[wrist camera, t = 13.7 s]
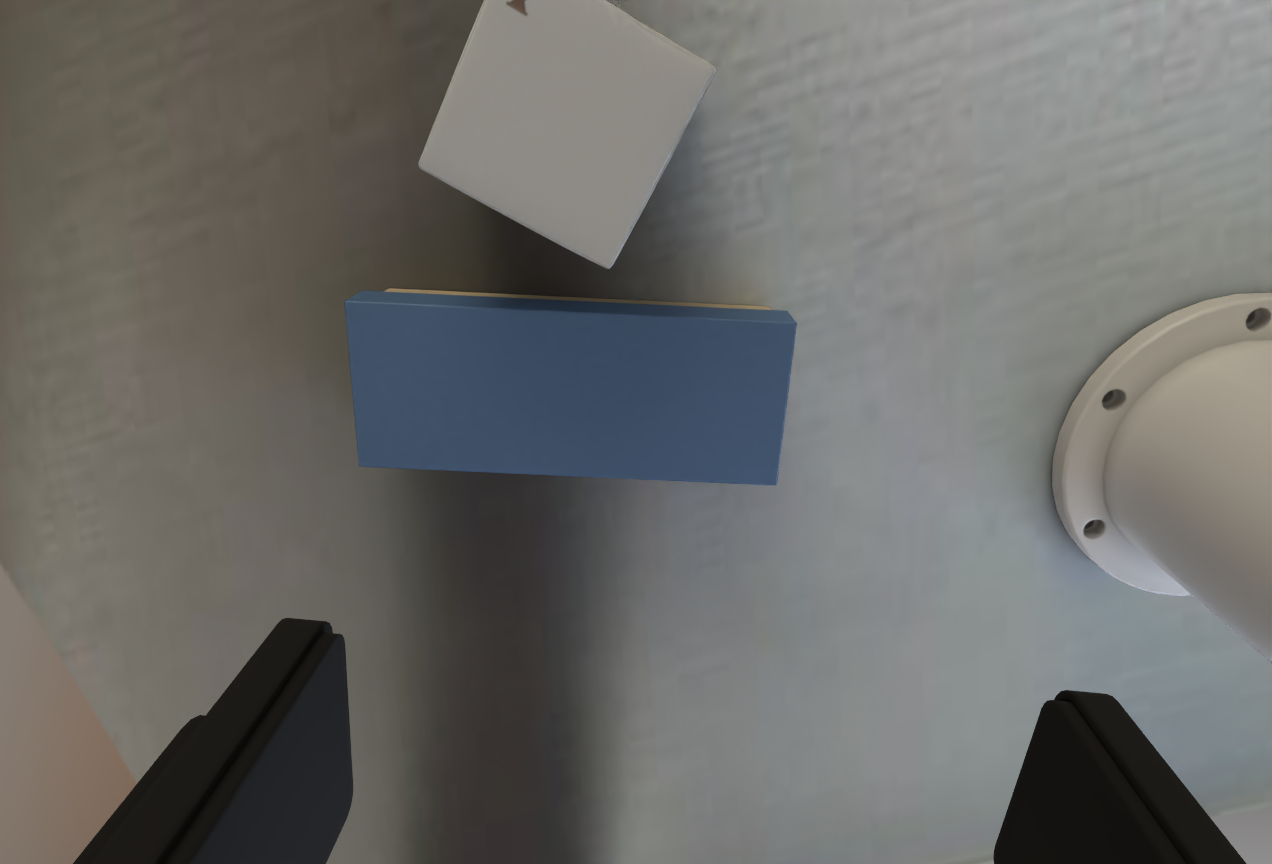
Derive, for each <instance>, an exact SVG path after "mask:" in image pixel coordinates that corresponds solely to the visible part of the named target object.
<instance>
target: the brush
mask: <svg viewBox="0 0 1272 864" xmlns="http://www.w3.org/2000/svg"><path fill="white" fill-rule="evenodd" d="M344 303H345V314H346V325H347V336H348V348H349V359H350V370H351V382H352V393H353V404H354V416H355V427H356V438H357V449H358V461H359V466H360V467H381V468H403V469H425V470H447V471H469V472H491V473H513V474H535V475H556V476H578V477H600V478H622V479H644V480H666V481H688V482H710V483H731V484H753V485H777V480H778V471H779V463H780V455H781V447H782V439H783V431H784V423H785V415H786V407H787V398H788V390H789V382H790V374H791V366H792V358H793V350H794V342H795V334H796V325H797V323H796V322H795V320H794V319H793V318H792V316H791V315H790V314H789V313H788V311H779V310H771V308H770V307H767V306H747V305H726V304H705V303H684V302H663V301H642V300H622V299H601V298H580V297H559V296H538V295H517V294H497V293H476V292H455V291H434V290H413V289H393V288H389V289H387V290H385V291H384V292H383V291H361V292H359V293H357V294H356V295H354V296H352V297H351V298H349V299H347V300H346V301H345V302H344Z"/></svg>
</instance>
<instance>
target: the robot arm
mask: <svg viewBox="0 0 1272 864" xmlns="http://www.w3.org/2000/svg"><path fill="white" fill-rule="evenodd" d="M1105 394H1106V395H1105ZM1104 395H1105V396H1104ZM1052 488H1053V493H1054V498H1055V503H1056V508H1057V512H1058V514H1059V516H1060V518H1061V521H1062V523H1063V525H1064V527H1065V529H1066V531H1067V533H1068V535H1069V536H1070V537H1071V538H1072V540H1073V541H1074V542H1075V543H1076V544H1077V546H1078V547H1079V548H1080V549H1081V551H1082V552H1083V553H1084V554H1085V555H1086V556H1088V557H1089V558H1090V559H1091V560H1092V561H1093V562H1094V563H1095V564H1096V565H1097V566H1099V567H1100V568H1101V569H1102V570H1103V571H1105V572H1106V573H1108V574H1110V575H1111V576H1113V577H1114V578H1116V579H1118V580H1119V581H1121V582H1123V583H1125V584H1128V585H1131V586H1133V587H1136V588H1139V589H1142V590H1145V591H1148V592H1153V593H1160V594H1167V595H1173V596H1194V597H1195V598H1196V599H1197V600H1198V601H1200V602H1201V603H1202V604H1203V605H1204V606H1205V607H1207V608H1208V609H1209V610H1210V611H1211V612H1212V613H1214V614H1215V615H1216V616H1217V617H1218V618H1219V619H1221V620H1222V621H1223V622H1224V623H1225V624H1226V625H1228V626H1229V627H1230V628H1231V629H1232V630H1233V631H1235V632H1236V633H1237V634H1238V635H1239V636H1240V637H1242V638H1243V639H1244V640H1245V641H1246V642H1247V643H1249V644H1250V645H1251V646H1252V647H1253V648H1254V649H1256V650H1257V651H1258V652H1259V653H1260V654H1261V655H1263V656H1264V657H1265V658H1266V659H1267V660H1268V661H1270V662H1271V663H1272V293H1246V294H1233V295H1229V296H1224V297H1219V298H1214V299H1209V300H1204V301H1201V302H1199V303H1196V304H1193V305H1191V306H1188V307H1186V308H1183V309H1180V310H1178V311H1175V312H1173V313H1170V314H1168V315H1167V316H1165V317H1163V318H1161V319H1160V320H1158V321H1156V322H1154V323H1153V324H1151V325H1149V326H1147V327H1146V328H1144V329H1142V330H1140V331H1139V332H1138V333H1137V334H1135V335H1134V336H1133V337H1131V338H1130V339H1129V340H1128V341H1126V342H1125V343H1124V344H1123V345H1121V346H1120V347H1119V348H1118V349H1116V350H1115V351H1114V352H1113V353H1112V354H1111V355H1110V356H1109V357H1108V358H1107V359H1106V360H1105V361H1104V362H1103V363H1102V364H1101V366H1100V367H1099V368H1098V369H1097V370H1096V371H1095V372H1094V373H1093V374H1092V375H1091V376H1090V377H1089V379H1088V380H1087V382H1086V383H1085V385H1084V386H1083V388H1082V389H1081V391H1080V392H1079V394H1078V395H1077V397H1076V398H1075V400H1074V401H1073V403H1072V404H1071V407H1070V409H1069V411H1068V414H1067V416H1066V418H1065V420H1064V423H1063V425H1062V427H1061V429H1060V432H1059V435H1058V440H1057V444H1056V448H1055V453H1054V457H1053V472H1052ZM352 796H353V777H352V759H351V741H350V724H349V706H348V689H347V671H346V653H345V641H344V637H343V635H341V634H333V632H332V627H331V625H330V623H328V622H326V621H315V620H304V619H293V618H285V619H282V620H281V621H280V622H279V623H278V624H277V625H276V627H275V628H274V629H273V630H272V632H271V633H270V634H269V635H268V637H267V638H266V639H265V641H264V642H263V643H262V644H261V646H260V647H259V648H258V650H257V651H256V652H255V653H254V655H253V656H252V657H251V658H250V660H249V661H248V662H247V664H246V665H245V666H244V667H243V669H242V670H241V671H240V673H239V674H238V675H237V676H236V678H235V679H234V680H233V681H232V683H231V684H230V685H229V687H228V688H227V689H226V690H225V692H224V693H223V694H222V696H221V697H220V698H219V699H218V701H217V702H216V703H215V704H214V706H213V707H212V708H211V710H210V711H209V712H208V713H207V715H206V716H203V715H199V716H197V717H195V718H193V719H191V720H190V721H189V722H188V723H187V724H186V725H185V726H184V727H183V728H182V729H181V730H180V731H179V733H178V734H177V735H176V736H175V738H174V739H173V740H172V741H171V743H170V744H169V745H168V746H167V748H166V749H165V750H164V751H163V752H162V754H161V755H160V756H159V757H158V759H157V760H156V761H155V762H154V764H153V765H152V766H151V767H150V769H149V770H148V771H147V772H146V774H145V775H144V776H143V777H142V779H141V780H140V781H139V782H138V783H137V785H136V786H135V787H134V789H133V790H132V791H131V792H130V794H129V795H128V796H127V797H126V799H125V800H124V801H123V802H122V803H121V805H120V806H119V807H118V808H117V810H116V811H115V812H114V813H113V815H112V816H111V817H110V818H109V819H108V821H107V822H106V823H105V825H104V826H103V827H102V828H101V829H100V831H99V832H98V833H97V835H96V836H95V837H94V838H93V839H92V841H91V842H90V843H89V844H88V846H87V847H86V848H85V849H84V851H83V852H82V853H81V855H80V856H79V857H78V858H77V859H76V860H75V862H74V863H73V864H326V862H327V860H328V858H329V856H330V853H331V851H332V849H333V847H334V845H335V843H336V840H337V838H338V836H339V834H340V832H341V830H342V827H343V825H344V823H345V821H346V819H347V816H348V813H349V810H350V807H351V802H352ZM994 864H1246V863H1245V861H1244V860H1243V859H1242V858H1241V856H1240V855H1239V854H1238V853H1237V851H1236V850H1235V849H1234V847H1233V846H1232V845H1231V844H1230V842H1229V841H1228V840H1227V839H1226V837H1225V836H1224V835H1223V834H1222V832H1221V831H1220V830H1219V829H1218V827H1217V826H1216V825H1215V824H1214V822H1213V821H1212V820H1211V818H1210V817H1209V816H1208V815H1207V813H1206V812H1205V811H1204V810H1203V808H1202V807H1201V806H1200V804H1199V803H1198V802H1197V801H1196V799H1195V798H1194V797H1193V796H1192V794H1191V793H1190V792H1189V791H1188V789H1187V788H1186V787H1185V786H1184V784H1183V783H1182V782H1181V780H1180V779H1179V778H1178V777H1177V775H1176V774H1175V773H1174V772H1173V770H1172V769H1171V768H1170V767H1169V765H1168V764H1167V763H1166V762H1165V760H1164V759H1163V758H1162V756H1161V755H1160V754H1159V753H1158V751H1157V750H1156V749H1155V748H1154V746H1153V745H1152V744H1151V743H1150V741H1149V740H1148V739H1147V738H1146V736H1145V735H1144V734H1143V733H1142V731H1141V730H1140V729H1139V727H1138V726H1137V725H1136V724H1135V722H1134V721H1133V720H1132V719H1131V717H1130V716H1129V715H1128V714H1127V712H1126V711H1125V710H1124V709H1123V707H1122V706H1121V705H1120V703H1119V702H1118V701H1117V700H1116V699H1115V698H1114V697H1113V696H1110V695H1108V694H1101V693H1090V692H1079V691H1069V690H1065V691H1061V692H1060V693H1059V694H1058V695H1057V696H1056V698H1055V700H1049V701H1047V702H1046V703H1044V705H1043V707H1042V709H1041V712H1040V715H1039V718H1038V721H1037V724H1036V727H1035V730H1034V733H1033V736H1032V739H1031V742H1030V744H1029V747H1028V750H1027V753H1026V756H1025V759H1024V762H1023V765H1022V768H1021V771H1020V774H1019V777H1018V780H1017V783H1016V786H1015V789H1014V792H1013V795H1012V798H1011V801H1010V804H1009V807H1008V810H1007V813H1006V816H1005V819H1004V821H1003V824H1002V827H1001V830H1000V833H999V836H998V839H997V842H996V845H995V849H994Z"/></svg>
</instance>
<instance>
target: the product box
mask: <svg viewBox="0 0 1272 864" xmlns="http://www.w3.org/2000/svg"><path fill="white" fill-rule="evenodd" d="M715 73H716V69H715V67H714V66H712V65H711V64H710V63H708V62H706V61H705V60H703V59H701V58H699V57H698V56H696V55H694V54H693V53H691V52H690V51H688V50H686V49H685V48H683V47H681V46H680V45H678V44H676V43H675V42H673V41H671V40H670V39H668V38H666V37H665V36H663V35H661V34H660V33H658V32H656V31H655V30H653V29H651V28H650V27H648V26H646V25H645V24H643V23H641V22H639V21H638V20H636V19H635V18H633V17H631V16H630V15H628V14H626V13H625V12H623V11H622V10H620V9H619V8H617V7H616V6H614V5H613V4H611V3H609V2H607V1H605V0H484V2H483V4H482V6H481V9H480V11H479V13H478V16H477V18H476V21H475V23H474V26H473V28H472V30H471V33H470V35H469V38H468V40H467V43H466V45H465V48H464V50H463V53H462V55H461V58H460V60H459V63H458V65H457V68H456V70H455V73H454V75H453V78H452V80H451V83H450V85H449V88H448V90H447V93H446V95H445V98H444V100H443V103H442V105H441V107H440V110H439V112H438V115H437V117H436V120H435V122H434V125H433V127H432V130H431V132H430V135H429V138H428V140H427V143H426V145H425V148H424V150H423V153H422V155H421V157H420V160H419V162H418V165H419V167H420V168H421V169H422V170H424V171H425V172H427V173H429V174H431V175H433V176H434V177H436V178H438V179H440V180H441V181H443V182H445V183H447V184H448V185H450V186H452V187H454V188H456V189H457V190H459V191H461V192H463V193H465V194H466V195H468V196H470V197H472V198H474V199H476V200H477V201H479V202H481V203H483V204H485V205H486V206H488V207H490V208H492V209H494V210H496V211H498V212H499V213H501V214H503V215H505V216H507V217H509V218H511V219H512V220H514V221H516V222H518V223H520V224H522V225H523V226H525V227H527V228H529V229H531V230H533V231H535V232H537V233H538V234H540V235H542V236H544V237H546V238H548V239H550V240H551V241H553V242H555V243H557V244H559V245H561V246H563V247H565V248H566V249H568V250H570V251H572V252H574V253H576V254H578V255H580V256H582V257H584V258H586V259H588V260H590V261H592V262H594V263H596V264H598V265H600V266H602V267H605V268H607V269H609V268H611V267H612V265H613V264H614V262H615V261H616V259H617V257H618V255H619V254H620V252H621V250H622V248H623V246H624V244H625V242H626V241H627V239H628V237H629V235H630V233H631V231H632V230H633V228H634V226H635V224H636V222H637V220H638V219H639V217H640V215H641V213H642V211H643V209H644V208H645V206H646V204H647V202H648V200H649V198H650V196H651V195H652V193H653V191H654V189H655V187H656V185H657V183H658V181H659V180H660V178H661V176H662V174H663V172H664V170H665V168H666V166H667V165H668V163H669V161H670V159H671V157H672V155H673V153H674V151H675V149H676V147H677V145H678V143H679V141H680V139H681V137H682V136H683V134H684V132H685V130H686V128H687V126H688V124H689V122H690V120H691V118H692V116H693V115H694V113H695V111H696V109H697V107H698V105H699V103H700V101H701V99H702V97H703V96H704V94H705V92H706V90H707V88H708V86H709V84H710V83H711V81H712V79H713V78H714V76H715Z"/></svg>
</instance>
